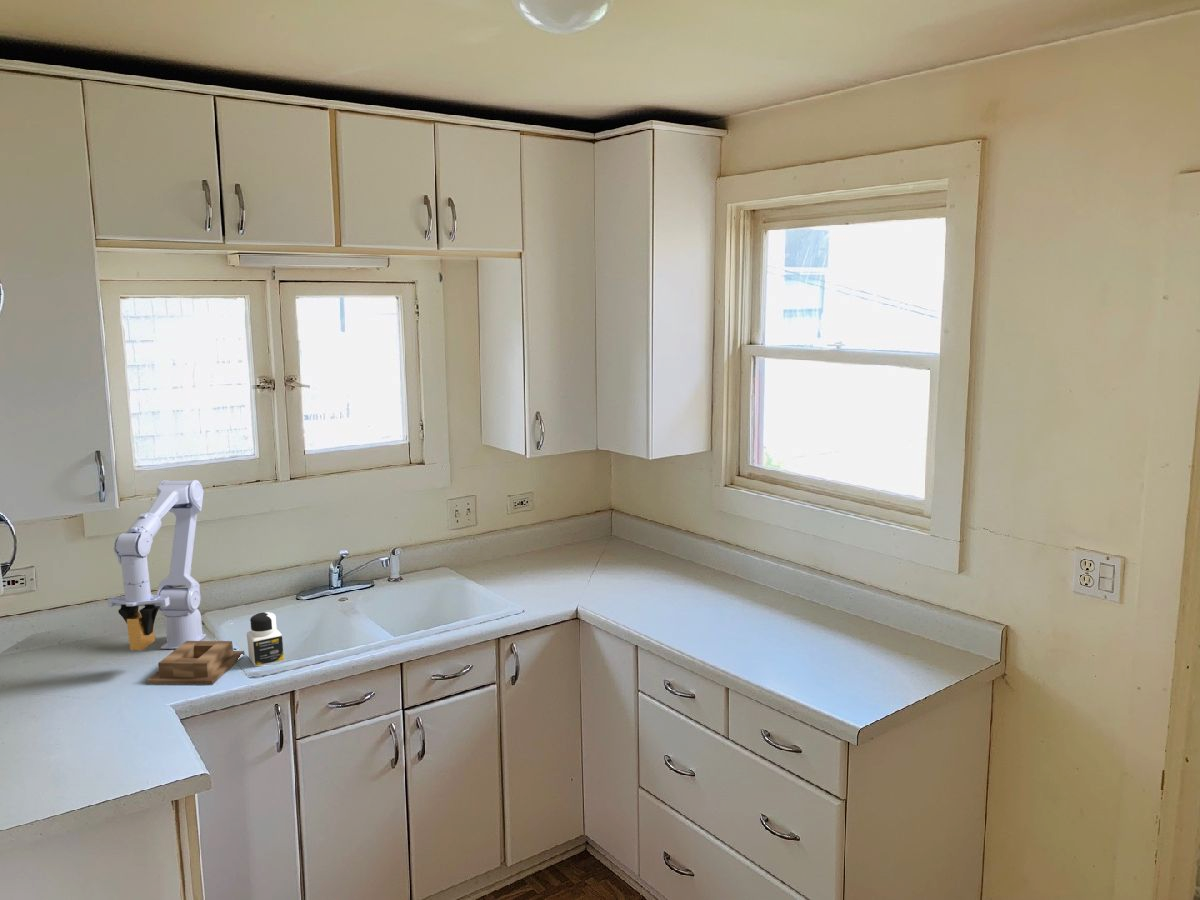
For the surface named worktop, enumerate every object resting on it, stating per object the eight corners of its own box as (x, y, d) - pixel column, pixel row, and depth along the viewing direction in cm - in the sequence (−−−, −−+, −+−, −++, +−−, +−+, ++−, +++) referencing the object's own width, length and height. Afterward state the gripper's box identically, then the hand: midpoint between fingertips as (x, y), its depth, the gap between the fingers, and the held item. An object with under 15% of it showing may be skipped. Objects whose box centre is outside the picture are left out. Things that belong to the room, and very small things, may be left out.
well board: (184, 654, 237) (182, 637, 236) (244, 654, 236) (243, 638, 235) (147, 684, 219) (145, 666, 218) (212, 684, 219) (210, 666, 218)
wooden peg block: (143, 640, 228) (140, 610, 227) (155, 640, 228) (151, 610, 227) (130, 650, 222) (126, 619, 221) (142, 650, 222) (138, 619, 221)
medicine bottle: (255, 667, 228) (251, 622, 226) (248, 658, 234) (244, 613, 232) (284, 660, 232) (280, 616, 230) (277, 651, 238) (273, 607, 236)
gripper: (97, 586, 219) (104, 639, 221) (156, 586, 218) (162, 640, 221) (114, 576, 226) (120, 628, 228) (171, 577, 225) (177, 629, 228)
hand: (142, 633), depth 225 cm, fingers closed on wooden peg block, 3 cm apart
